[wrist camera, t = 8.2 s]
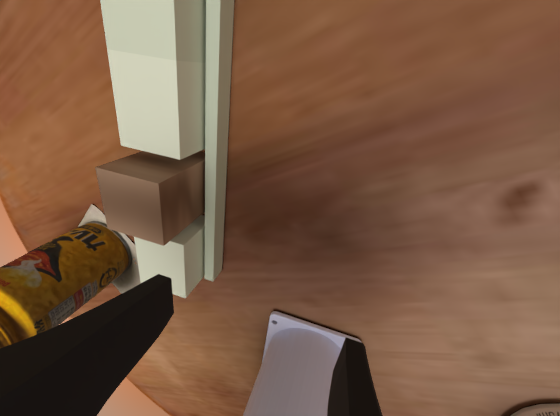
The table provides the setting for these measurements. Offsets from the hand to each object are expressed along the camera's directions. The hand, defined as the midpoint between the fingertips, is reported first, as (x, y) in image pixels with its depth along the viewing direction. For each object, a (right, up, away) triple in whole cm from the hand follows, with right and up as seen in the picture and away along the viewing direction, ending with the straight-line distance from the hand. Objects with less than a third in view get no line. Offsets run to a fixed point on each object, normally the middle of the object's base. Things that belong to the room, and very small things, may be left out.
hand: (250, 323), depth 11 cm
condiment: (-16, 0, +17) cm, 23 cm away
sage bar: (-5, +9, +9) cm, 14 cm away
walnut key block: (-6, +7, +10) cm, 13 cm away
